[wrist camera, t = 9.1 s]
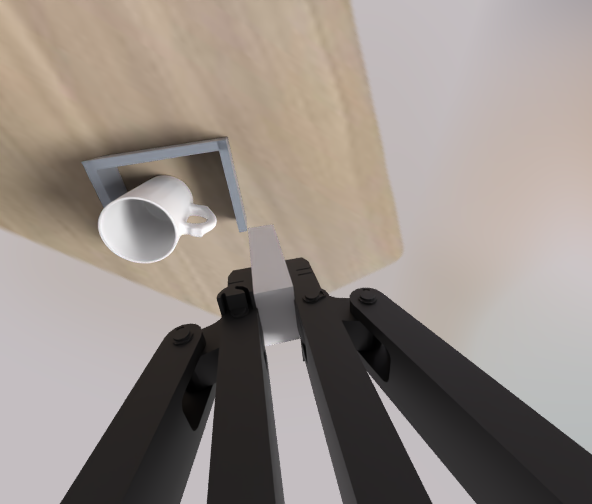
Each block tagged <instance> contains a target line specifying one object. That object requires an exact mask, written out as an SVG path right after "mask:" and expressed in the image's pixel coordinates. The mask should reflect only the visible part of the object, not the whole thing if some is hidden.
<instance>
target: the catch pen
mask: <svg viewBox="0 0 592 504" xmlns="http://www.w3.org/2000/svg"><path fill="white" fill-rule="evenodd" d="M213 151H219V153H220V157H221V161H222V165H223V169H224V173H225V177H226V181H227V185H228V189H229V193H230V197H231V201H232V205H233V209H234V213H235V217H236V221H237V225H238V229H239V232H244V231H247V222H246V215H245V210H244V206H243V202H242V197H241V193H240V189H239V184H238V180H237V176H236V171H235V167H234V163H233V158H232V154H231V150H230V145H229V141H228V137H223V138H216V139H210V140H203V141H197V142H190V143H184V144H177V145H171V146H164V147H158V148H151V149H145V150H138V151H132V152H125V153H119V154H112V155H106V156H101V157H97V158H94V159H90V160H86V161H83V162H82V164H83V166H84V168H85V170H86V172H87V174H88V177H89V179H90V181H91V183H92V185H93V187H94V189H95V191H96V193H97V195H98V197H99V199H100V201H101V203H102V205H103V207H104V208H105V207H106V206H107V205H108V204H109V203H111V202H112V201H114V200H116V199H117V198H119V197H120V196H122V195H124V194H126V193H127V189H126V187H125V185H124V182H123V180H122V178H121V175H120V173H119V171H118V168H117V167H118V166H125V165H131V164H137V163H144V162H150V161H156V160H163V159H169V158H175V157H181V156H188V155H194V154H200V153H207V152H213Z"/></svg>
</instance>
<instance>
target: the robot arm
mask: <svg viewBox="0 0 592 504" xmlns="http://www.w3.org/2000/svg"><path fill="white" fill-rule="evenodd" d="M248 234H249V245H250V257H251V267H250V268H245V269H239V270H234V271H232V272H231V274H230V275H229V277H228V287H227V288H225V289H223V290H222V291H221V292H220V293H219V294H218V296H217V302H218V305H219V308H220V312H221V315H222V318H221V319H220V320H219V321H217V322H216V323H214V324H212V325H210V326H208V327H206V328H203V329H201V327H200V326H198V325H196V324H186V325H181V326H179V327H177V328H175V329H174V330H172V331H171V332H169V333H168V334H167V336H166V337H165V338H164V340H163V341H162V343H161V344H160V346H159V347H158V349H157V351H156V352H155V354H154V355H153V357H152V359H151V360H150V362H149V363H148V365H147V366H146V368H145V370H144V371H143V373H142V374H141V376H140V378H139V379H138V381H137V382H136V384H135V386H134V387H133V389H132V390H131V392H130V393H129V395H128V397H127V398H126V400H125V402H124V403H123V405H122V406H121V408H120V409H119V411H118V413H117V414H116V416H115V417H114V419H113V420H112V422H111V424H110V425H109V427H108V428H107V430H106V432H105V433H104V435H103V436H102V438H101V440H100V441H99V443H98V444H97V446H96V447H95V449H94V451H93V452H92V454H91V455H90V457H89V458H88V460H87V462H86V463H85V465H84V466H83V468H82V470H81V471H80V473H79V475H78V476H77V478H76V479H75V481H74V482H73V484H72V485H71V487H70V489H69V490H68V492H67V493H66V495H65V497H64V498H63V500H62V501H61V503H60V504H180V502H181V499H182V496H183V493H184V489H185V487H186V483H187V481H188V478H189V474H190V471H191V468H192V465H193V462H194V459H195V456H196V453H197V450H198V447H199V444H200V441H201V438H202V435H203V432H204V429H205V426H206V423H207V420H208V417H209V414H210V411H211V407H212V404H213V401H214V398H215V407H214V419H213V432H212V445H211V458H210V470H209V483H208V495H207V504H285V502H284V494H283V487H282V478H281V470H280V461H279V453H278V445H277V436H276V428H275V420H274V413H273V403H272V396H271V387H270V379H269V370H268V362H267V355H266V350H265V346H268V345H273V344H277V343H282V342H287V341H291V340H296V339H299V338H300V339H301V347H302V355H303V361H305V363H306V366H307V370H308V374H309V378H310V381H311V385H312V389H313V393H314V396H315V400H316V404H317V407H318V412H319V415H320V419H321V423H322V426H323V430H324V434H325V438H326V442H327V445H328V449H329V453H330V457H331V460H332V463H333V467H334V471H335V475H336V479H337V483H338V486H339V490H340V494H341V498H342V502H343V504H432V502H431V500H430V498H429V496H428V494H427V492H426V490H425V488H424V486H423V484H422V482H421V480H420V478H419V476H418V474H417V472H416V470H415V468H414V466H413V464H412V462H411V460H410V458H409V456H408V454H407V452H406V450H405V448H404V446H403V443H402V442H401V439H400V437H399V435H398V433H397V431H396V429H395V427H394V425H393V423H392V421H391V419H390V417H389V415H388V413H387V411H386V409H385V407H384V405H383V403H382V401H381V399H380V397H379V395H378V393H377V391H376V389H375V387H374V385H373V383H372V381H371V379H370V377H369V375H368V373H369V374H370V375H371V376H372V378H373V379H374V380H375V382H376V383H377V384H378V385H379V386H380V388H381V389H382V390H383V391H384V392H385V393H386V395H387V396H388V397H389V398H390V400H391V401H392V402H393V403H394V404H395V406H396V407H397V408H398V409H399V411H401V413H402V414H403V415H404V416H405V418H406V419H407V420H408V421H409V423H410V424H411V425H412V426H413V427H414V429H415V430H416V431H417V432H418V433H419V434H420V436H421V437H422V438H423V440H424V441H425V442H426V443H427V444H428V446H429V447H430V448H431V449H432V450H433V452H434V453H435V454H436V455H437V456H438V458H439V459H440V460H441V461H442V462H443V464H444V465H445V466H446V467H447V468H448V470H449V471H450V472H451V473H452V475H453V476H454V477H455V478H456V479H457V481H458V482H459V483H460V484H461V485H462V486H463V488H464V489H465V490H466V491H467V493H468V494H469V495H470V496H471V497H472V499H473V500H474V501H475V502H476V503H477V504H592V454H590V453H589V452H588V451H586V450H585V449H584V448H582V447H581V446H580V445H578V444H577V443H576V442H575V441H573V440H572V439H571V438H569V437H568V436H567V435H566V434H564V433H563V432H562V431H560V430H559V429H558V428H556V427H555V426H554V425H553V424H551V423H550V422H549V421H547V420H546V419H545V418H544V417H542V416H541V415H540V414H538V413H537V412H536V411H534V410H533V409H532V408H531V407H529V406H528V405H527V404H525V403H524V402H523V401H521V400H520V399H519V398H518V397H516V396H515V395H514V394H512V393H511V392H510V391H509V390H507V389H506V388H504V387H503V386H502V385H501V384H499V383H498V382H497V381H496V380H494V379H493V378H492V377H490V376H489V375H488V374H486V373H485V372H484V371H483V370H481V369H480V368H479V367H477V366H476V365H475V364H474V363H472V362H471V361H470V360H468V359H467V358H466V357H464V356H463V355H462V354H461V353H459V352H458V351H456V350H455V349H454V348H453V347H451V346H450V345H449V344H448V343H446V342H445V341H444V340H442V339H441V338H440V337H438V336H437V335H436V334H435V333H433V332H432V331H431V330H429V329H428V328H427V327H426V326H424V325H423V324H422V323H420V322H419V321H418V320H416V319H415V318H414V317H413V316H411V315H410V314H409V313H407V312H406V311H405V310H403V309H402V308H401V307H400V306H398V305H397V304H395V303H394V302H393V301H392V300H390V299H389V298H388V297H387V296H385V295H384V294H383V293H381V292H380V291H378V290H376V289H372V288H360V289H356V290H355V291H353V292H352V293H351V295H350V298H335V297H331V296H329V294H328V293H327V292H326V291H325V290H323V289H321V287H320V285H319V283H318V281H317V278H316V276H315V274H314V273H313V270H312V268H311V266H310V264H309V262H308V261H307V260H305V259H304V258H296V259H291V260H285V259H284V256H283V253H282V250H281V247H280V243H279V240H278V237H277V234H276V231H275V228H274V225H273V224H271V225H265V226H259V227H252V228H248ZM299 335H300V337H299ZM367 372H368V373H367Z"/></svg>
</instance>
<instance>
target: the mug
mask: <svg viewBox="0 0 592 504" xmlns="http://www.w3.org/2000/svg"><path fill="white" fill-rule="evenodd" d="M191 215H194V216H201V217H203V218H205V219H207V221H206V222H204V223H198V224H194V223H187V222H186V221H187V219H188V217H189V216H191ZM216 223H217V219H216V216H215V215H214V213H213V212H212V211H211V210H210V209H209V207H208V206H204V205H197V204H193V196H192V193H191V191H190V189H189V188H188V186H187V185H186V184H185V183H184V182H182V181H181V180H179V179H178V178H175V177H173V176H168V175H160V176H156V177H154V178H152V179H150V180H148V181H146V182H144V183H143V184H141V185H139V186H138V187H136V188H134V189H133V190H131V191H129V192H127V193H126V194H124V195H122V196H120V197H119V198H117V199H116V200H114V201H112V202H111V203H109V204H108V205H107V206H106V207H105V208H104V209H103V210H102V212H101V214H100V216H99V220H98V230H99V234H100V236H101V238H102V240H103V242H104V243H105V245H106V246H107V247H108V248H109V249H110V250H111V251H112V252H114V253H115V254H116V255H118V256H120V257H121V258H123V259H126V260H129V261H132V262H136V263H152V262H157V261H159V260H162V259H164V258H165V257H167V256H168V255H169V254H170V253H171V252H172V251H173V250H174V248H175V247H176V244H177V242H178V240H179V237H180V236H181V235H183V234H190V235H191V236H196V237H202V236H203V235H204V234H205V233H207V232H209V231H210V230H212V229H213V228H214V227H215V226H216Z"/></svg>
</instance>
